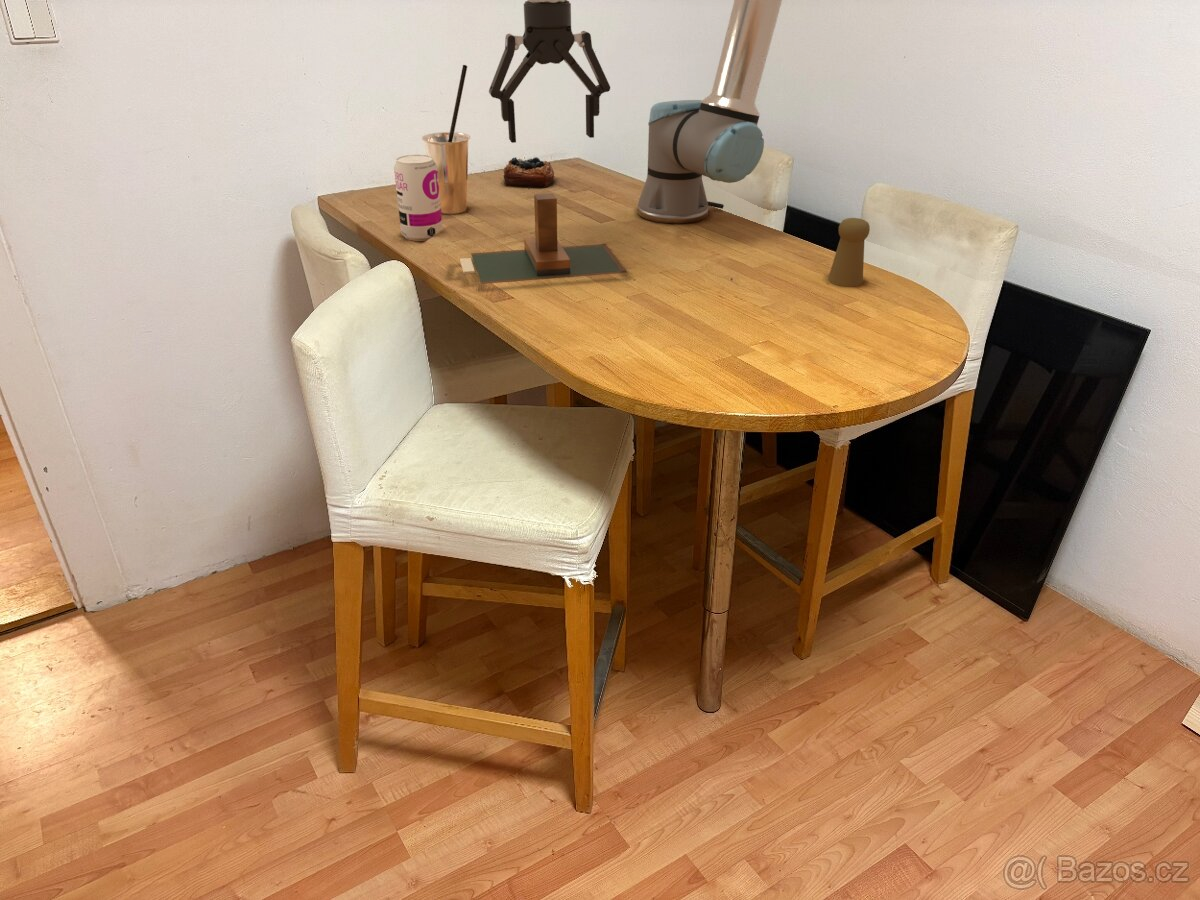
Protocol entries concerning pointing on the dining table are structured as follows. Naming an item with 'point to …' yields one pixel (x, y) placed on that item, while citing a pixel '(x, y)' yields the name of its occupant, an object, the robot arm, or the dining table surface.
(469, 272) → the pale wooden block
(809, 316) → the dining table surface
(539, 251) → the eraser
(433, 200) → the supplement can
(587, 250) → the chalkboard
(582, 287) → the dining table surface
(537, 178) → the pastry
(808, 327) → the dining table surface
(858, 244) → the brown pawn
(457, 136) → the copper cup with straw
